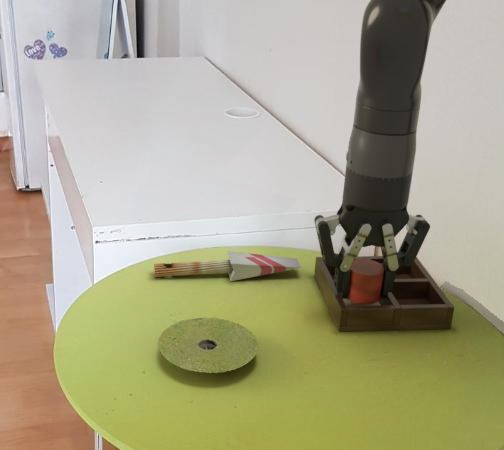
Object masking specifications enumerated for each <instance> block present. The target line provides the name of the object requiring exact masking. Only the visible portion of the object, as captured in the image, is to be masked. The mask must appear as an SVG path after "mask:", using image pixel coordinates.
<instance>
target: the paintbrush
mask: <svg viewBox="0 0 504 450" xmlns="http://www.w3.org/2000/svg"><path fill="white" fill-rule="evenodd" d="M227 255H228V259H218V260H217V259H216V260H200V261H184V262H183V261H182V262H180V261H179V262H170V263H165V262H162V263H161V262H159V263H153V270H154V271H153V273H154V278H162V277H163V278H164V277H169V276H172V277H176V276H178V277H179V276H193V275H211V274H228V277H229V280H230V282H234V281H239V280H245V279H250V278H255V277H260V276H265V275H271V274H275V273H276V274H277V273H282V272H285V271H291V270H296V269H301V268H302V266H301V263H300V262H299V259H298V258H297V257H289V256H288V257H287V256H286V257H285V256H278V255H269V254H259V253H248V252H238V251H230V250H227Z"/></svg>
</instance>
